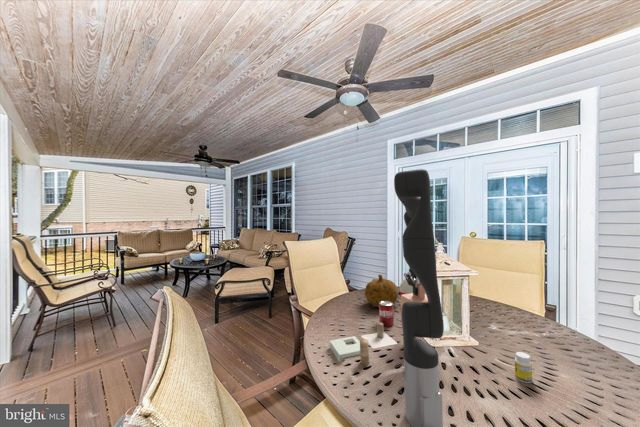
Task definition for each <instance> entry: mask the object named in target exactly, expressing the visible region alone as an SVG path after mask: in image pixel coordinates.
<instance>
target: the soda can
mask: <svg viewBox="0 0 640 427" xmlns="http://www.w3.org/2000/svg"><path fill="white" fill-rule="evenodd" d="M394 308H395V307H394V305H393V303H392V302H389V301H381V302H380V303H379V307H378V322H381V323H383V328H384V327H385V328H390V327H394V326H395V317H394V316H395V314H394V313H395V312H394V310H395V309H394Z"/></svg>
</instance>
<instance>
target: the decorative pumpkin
mask: <svg viewBox="0 0 640 427" xmlns="http://www.w3.org/2000/svg"><path fill="white" fill-rule="evenodd" d="M377 277H378V279H377V278H376V279H375V278H373V279H372V281H369V282H368V283H367V284H366V286H365V289H364V296H365V298H366V301H367V302H368V304H370V305H371V306H372V307H374V308H377V307H378V308H379V303H380V302H381V301H389V302H392V303H393V306H394V305H395V304H396V302H397V300H398V298H399V289H398V286H397V285H396V283H395V282H394V281H392V280H391V279H386V278H384V277H383V274H378V276H377Z"/></svg>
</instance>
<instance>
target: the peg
mask: <svg viewBox="0 0 640 427" xmlns="http://www.w3.org/2000/svg"><path fill="white" fill-rule="evenodd" d="M359 341H360V355H359V357H360V358H359V359H360V364H361V365H362V366H368V365H369V364H370V352H369V351H370V350H369V344H368V340H367V339H363V338H361V339H359Z"/></svg>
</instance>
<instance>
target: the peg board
mask: <svg viewBox="0 0 640 427" xmlns="http://www.w3.org/2000/svg"><path fill="white" fill-rule="evenodd" d="M349 343H353V344H349ZM329 348H330V350H331V352H332V354H334V356H335V358H336V359H337V360H338V362H339V363H344V362H346V360H345V359H346V358H349V357H351V358H352V357H354V356H355V357H356V356H360V339H358V338H357V337H356V336H355V335H353V336H348V337H343V338H336V339H332V340H329Z"/></svg>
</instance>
